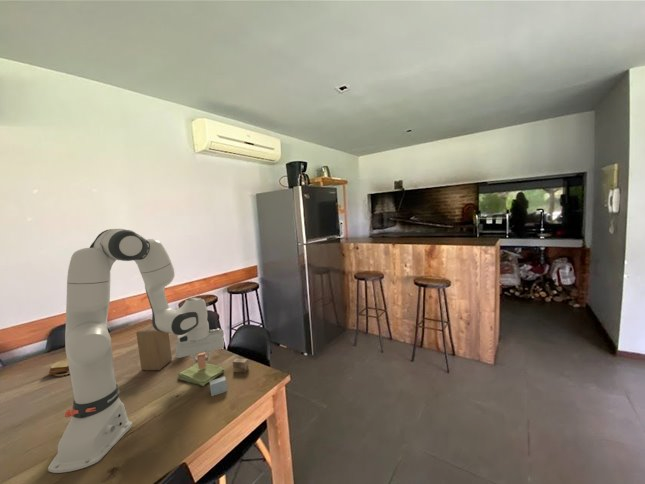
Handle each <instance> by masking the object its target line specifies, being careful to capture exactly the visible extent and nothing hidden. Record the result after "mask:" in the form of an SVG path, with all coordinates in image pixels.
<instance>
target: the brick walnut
mask: <svg viewBox="0 0 645 484" xmlns="http://www.w3.org/2000/svg"><path fill="white" fill-rule="evenodd" d="M232 369H233V373H241V372H246V371H248V370H249V359H248V358H235V359H234V360H233V361H232ZM246 373H247V372H246Z"/></svg>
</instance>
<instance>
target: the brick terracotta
mask: <svg viewBox="0 0 645 484" xmlns="http://www.w3.org/2000/svg"><path fill="white" fill-rule="evenodd" d="M206 353H207V352H204V353H199V354H197V357H196V358H197V359H198V367H199V369H201V368H205V367H206V363H207V361H206V359H205V356H207V354H206Z"/></svg>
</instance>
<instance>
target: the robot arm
mask: <svg viewBox="0 0 645 484" xmlns="http://www.w3.org/2000/svg"><path fill="white" fill-rule="evenodd" d="M116 261H124V262H130V261H131V262H132V261H134V262H135V264H136V265H137V267H138V270H139V273H140V276H141V277H142V280H143V284H144V289H145V293H146V296H147V299H148V303H149V305H150V308H151V309H150V310H151V313H152V314H151V319H152V321H151V324H153V327H154V328H155V329H156V330H157V331H159V332H167V333H169V335H170V334H171V335H174V336H175V335H176V336H177V337H176V341H177V342H176V344H175V348H174V349H175V350H174V351H175V357H176V358H177V359H181V358H186V357H188V356H189V357H190V356H191V359H192V360H193V361H194V364H196V363H198V359H197V358H198V357H197V356H196V355H198V354H199V353H204V352H206V353H207V354H206V356H205V359H206V362H208V361H210V356H211V354H212V351H216V350H222V349H223V348H224V347H225V341H224V335H225V333H224V332H225V331H224V330H223V329H222V328H216V329H210V325H209V321H208V308H207V303H206V301H205V299H204V298H202V297H190V298H189V297H188V298H186V299H185V301H184V303H183V304H182V305H181V306H180V307H179V308H178V309H174V308H172V307H171V306H170V305H169V304H168V300H167V296H166V293H165V288H166V287H167V286H169V285H170V284H171V283H172V282H173V281H174V279H175V269H174V266H173V263H172V261H171V258H170V256H169V254H168V252H167V249H166V248H165V247H164V245H163V244H162V242H161V241H160V240H157V239H154V238H148V239H147V238H145V237H143V236H142V235H141V234H140V233H138V232H136V231H134V230H129V229H124V228H111V229H106V230H103V231H101V232H100V233H99V234H98V235H97V236H96V238H95V239H94V241H93V242H92V243H91V244H90V246H89V247H86V248H85V247H84V248H80V249H77V250H76V251H75V252H73V253H72V255H71V257H70V260H69V265H68V269H67V275H66V276H67V278H66V279H67V280H66V303H65V305H66V309H65V310H66V311H65V332H64V337H65V338H64V341H65V342H64V343H65V346H64V347H65V354H66V361H68V366H69V371H70V374H69V376H70V380H71V381H70V382H71V385H72V387H71V388H72V392H73V399H74V400H73V403H72V407H71V408H72V409H67V410H66V411H65V413H64V417H65V418H69V417H70V421H69V422H68V423H67V426H66V428H65V430H64V432H63V434H62V436H61V438H60V440H59V442H58V444H57V454H56V455H55V456H54V458H53V460H51V462H50V464H49V465H48V467H47V471H48V472H50V473H54V474H59V473H69V472H74V471H77V470H82V469H84V468H88V467H90V466H92V465H94V464H96V463H98V462H99V461H101V460H102V459H103V458H104V457H105V456H106V454H108V452H110V450H111V449H113V447H114V446H115V445H116V444H117V443H118V442H119V441H120V439H121V438H123V436H125V434H126V433H127V432H128V431H129V430H130V429H131V428H132V427H133V422H132V421H130V420H129V417H128V413H127V410H126V408H125V404H124V402H123V401H121V399H120V388H119V386H118V383H117V382H116V374H115V368H114V358H113V357H114V356H113V347H112V339H111V335H110V333H109V330H108V329H109V328H108V315H109V309H110V300H111V271H112V270H111V269H112V266H113V264H114V263H115V262H116Z"/></svg>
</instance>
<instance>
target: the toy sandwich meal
mask: <svg viewBox="0 0 645 484" xmlns="http://www.w3.org/2000/svg"><path fill="white" fill-rule="evenodd" d="M49 368H50V369H49V371H48V375H49V376H55V377H65V376H68V374H69V375H70V371H69V366H68V361H67V360H64V361H56V362H55V363H53V364H51V366H50V367H49ZM64 375H65V376H64Z"/></svg>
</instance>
